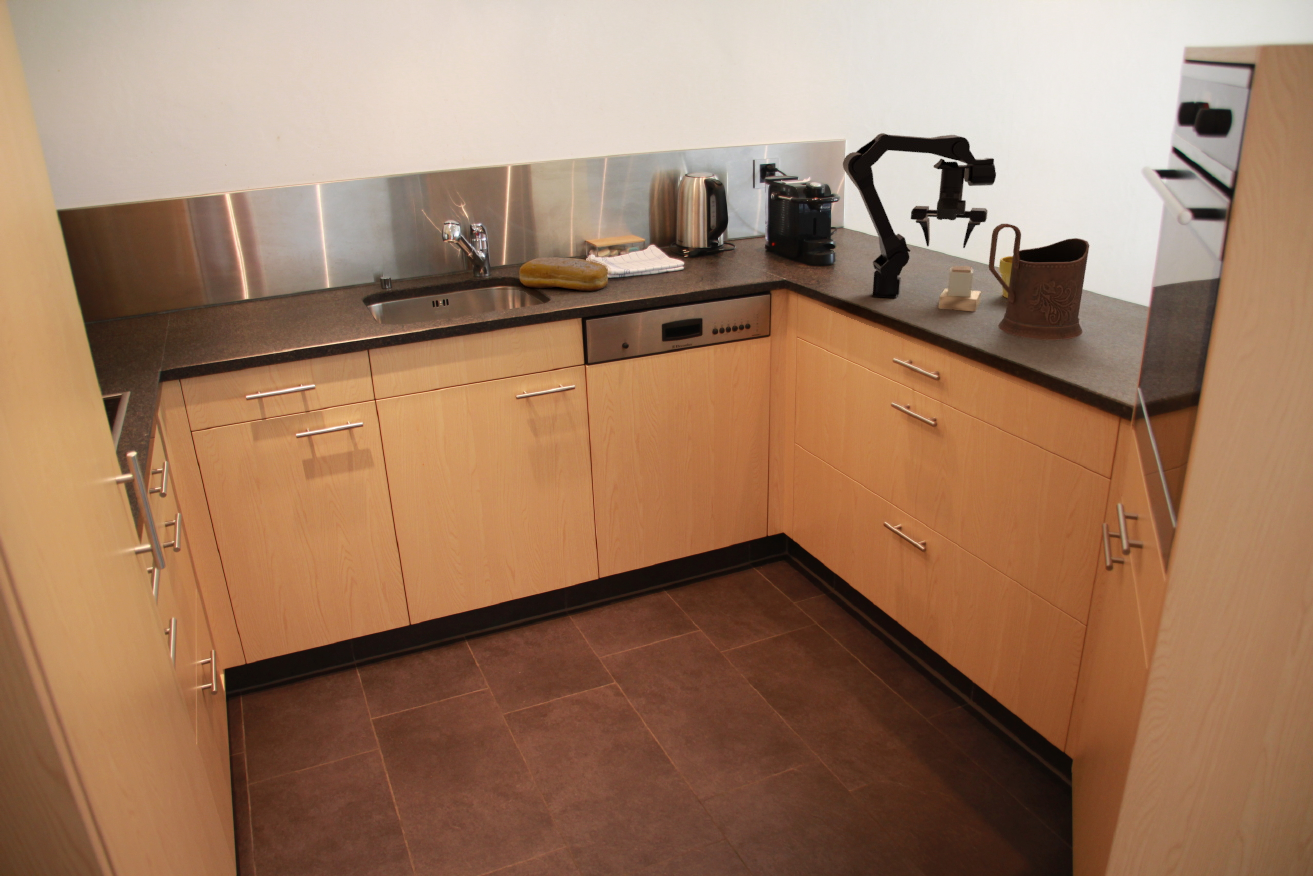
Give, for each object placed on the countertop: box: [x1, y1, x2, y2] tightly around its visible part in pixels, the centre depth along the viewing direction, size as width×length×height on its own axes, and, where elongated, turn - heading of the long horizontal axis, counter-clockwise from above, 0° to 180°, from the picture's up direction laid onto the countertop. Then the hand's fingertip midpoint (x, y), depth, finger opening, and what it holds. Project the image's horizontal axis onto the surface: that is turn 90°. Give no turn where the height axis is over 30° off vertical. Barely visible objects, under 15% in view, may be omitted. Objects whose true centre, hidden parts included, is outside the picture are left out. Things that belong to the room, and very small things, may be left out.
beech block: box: [938, 288, 982, 312], centre depth 238 cm, size 9×9×4 cm
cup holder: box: [988, 223, 1090, 341], centre depth 213 cm, size 18×24×25 cm
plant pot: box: [998, 255, 1013, 299], centre depth 244 cm, size 10×10×10 cm
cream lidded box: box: [947, 265, 974, 297], centre depth 236 cm, size 6×6×7 cm
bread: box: [518, 256, 609, 292], centre depth 268 cm, size 13×26×8 cm, turn 73°
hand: (945, 246), depth 246 cm, fingers open, 9 cm apart
